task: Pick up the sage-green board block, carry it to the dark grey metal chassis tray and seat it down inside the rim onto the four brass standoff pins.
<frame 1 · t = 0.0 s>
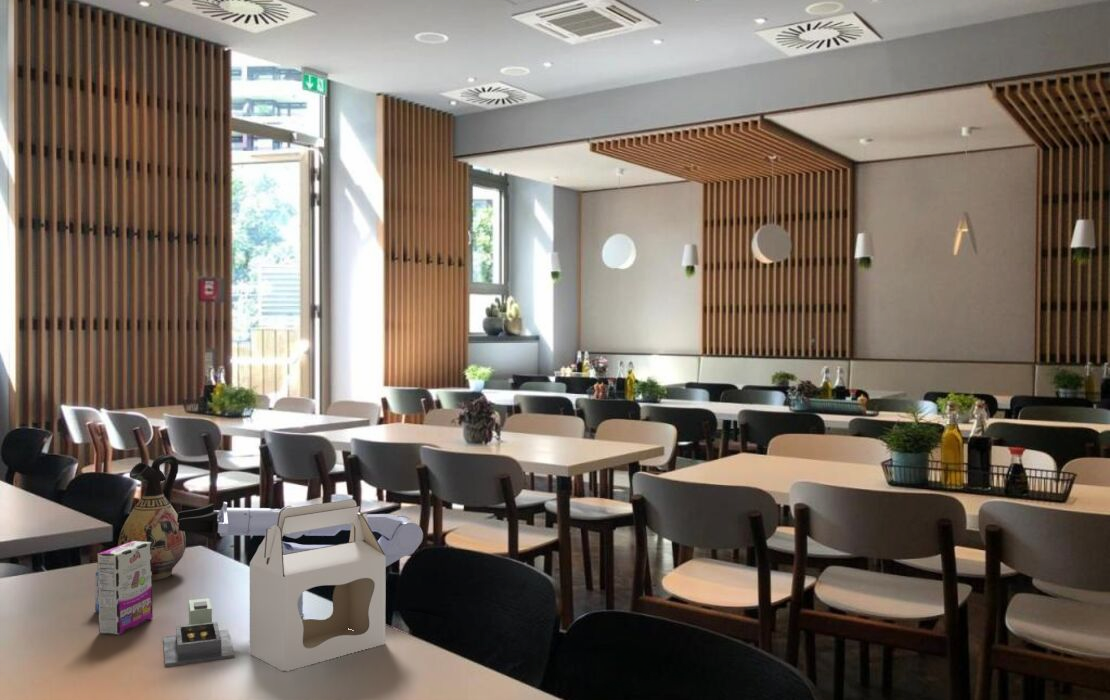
hand: (178, 521, 192), 22 cm above the table, tool horizontal, fingers open, 7 cm apart
candy bar box: (125, 627, 192), on the table
ceramic jug: (155, 576, 232), on the table
gable box: (318, 650, 180), on the table
board: (200, 628, 192), on the table
medicine box: (116, 612, 203), on the table
chassis: (198, 648, 179), on the table
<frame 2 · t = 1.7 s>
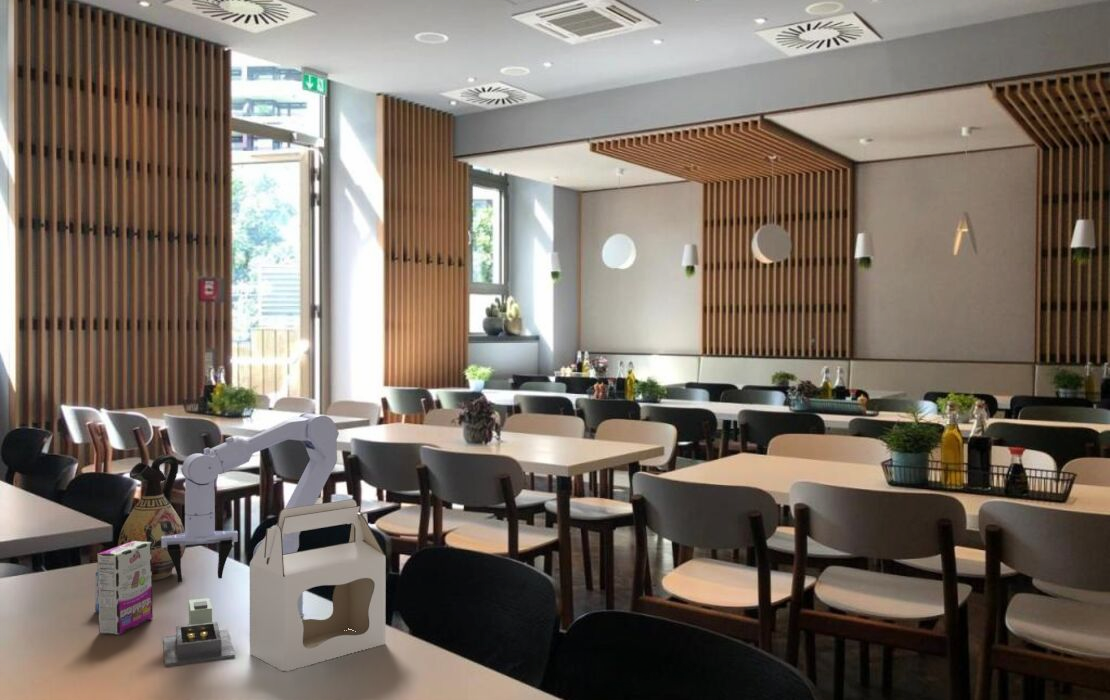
hand: (199, 579, 191), 10 cm above the table, tool pointing down, fingers open, 7 cm apart
nothing on the table moved.
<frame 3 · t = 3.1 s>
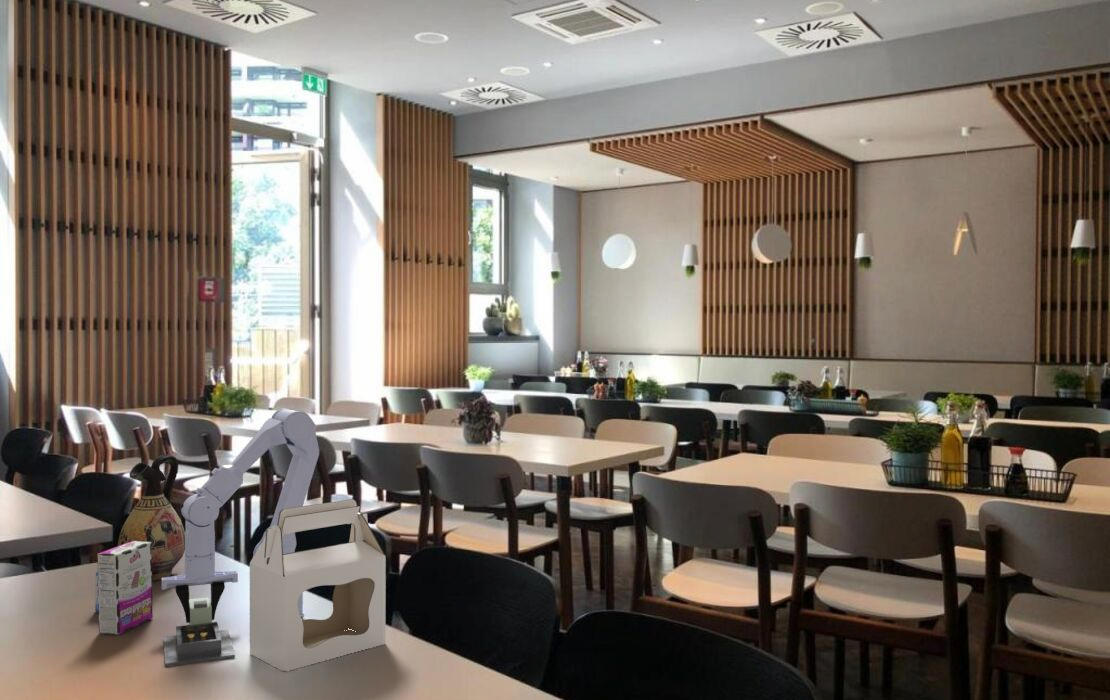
hand: (200, 620, 192), 2 cm above the table, tool pointing down, fingers closed on board, 4 cm apart
board: (200, 627, 192), on the table, touching gripper
everything else where it was.
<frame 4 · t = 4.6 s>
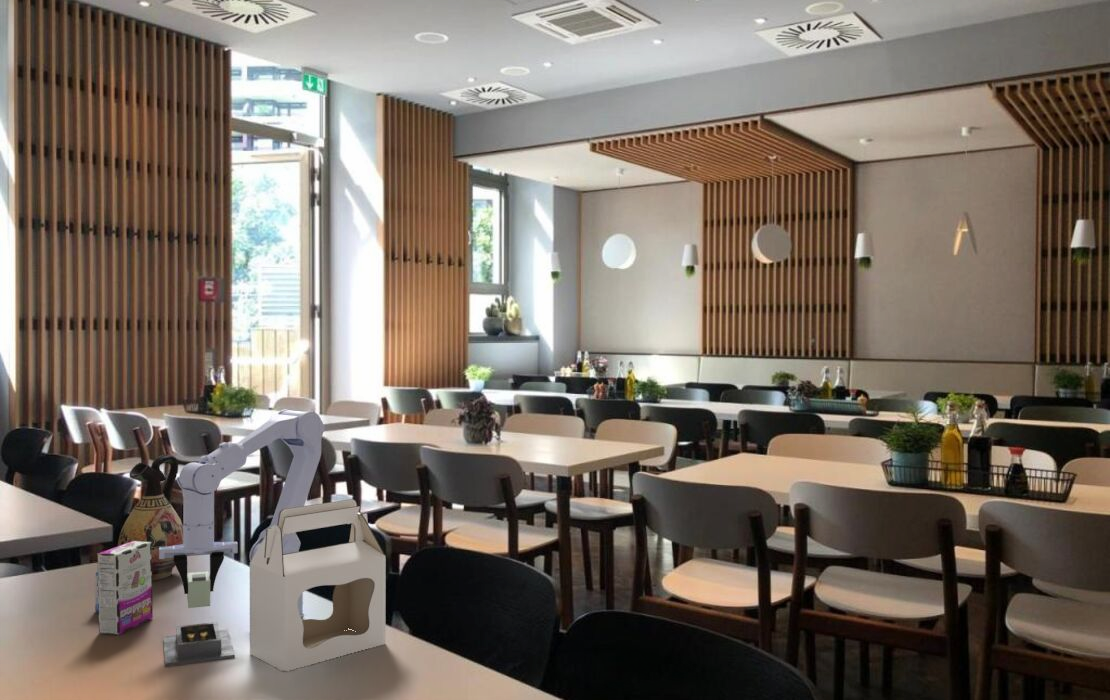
hand: (198, 591, 186), 9 cm above the table, tool pointing down, fingers closed on board, 4 cm apart
board: (198, 601, 187), point 7 cm above the table, touching gripper
everything else where it was.
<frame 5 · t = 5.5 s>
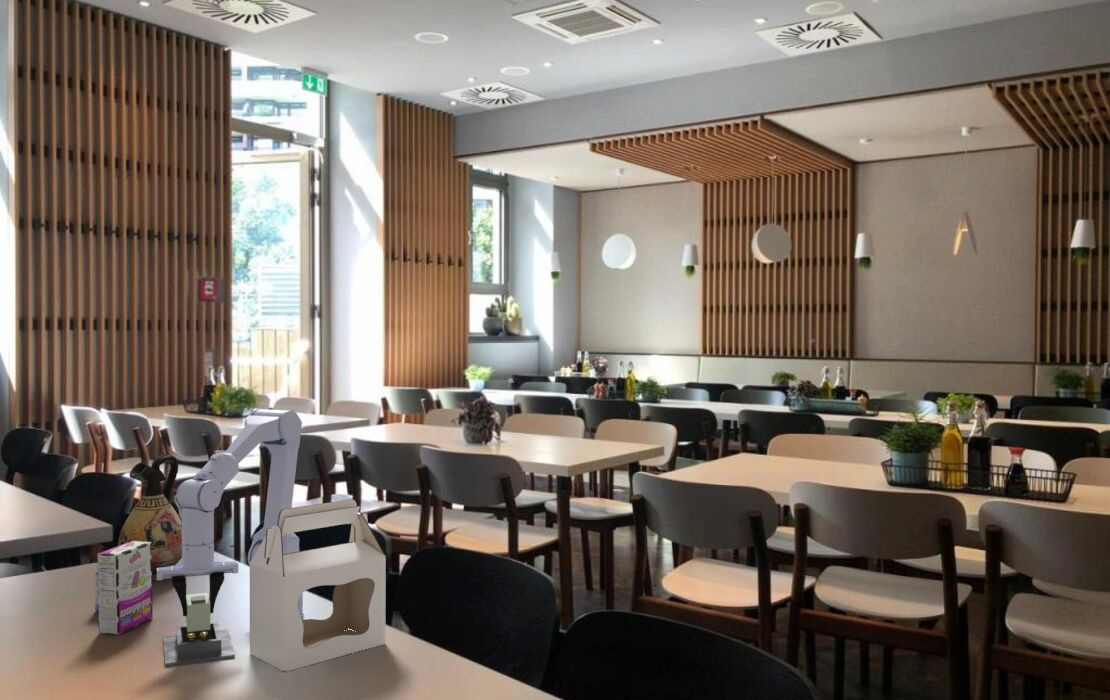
hand: (198, 613, 179), 7 cm above the table, tool pointing down, fingers closed on board, 4 cm apart
board: (197, 624, 180), point 4 cm above the table, touching gripper
everything else where it was.
when the fingers open (5 cm above the table, at t = 6.3 s): board stays where it is, resting on chassis.
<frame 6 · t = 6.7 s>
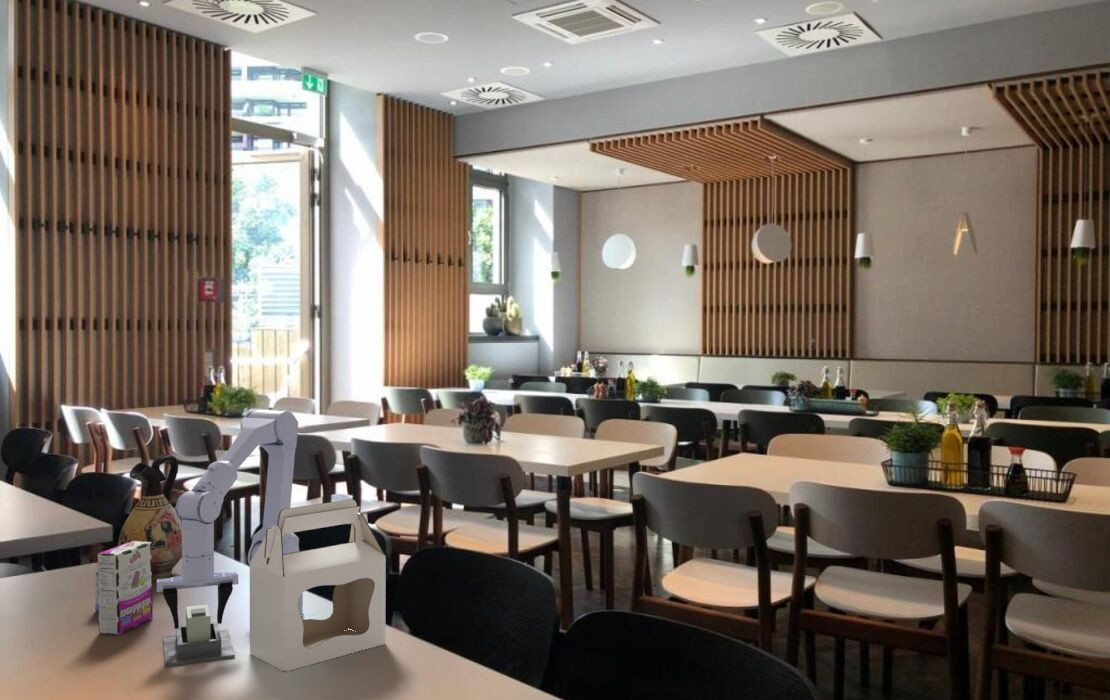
hand: (198, 624, 179), 5 cm above the table, tool pointing down, fingers open, 7 cm apart
board: (198, 637, 180), point 2 cm above the table, touching chassis
everything else where it was.
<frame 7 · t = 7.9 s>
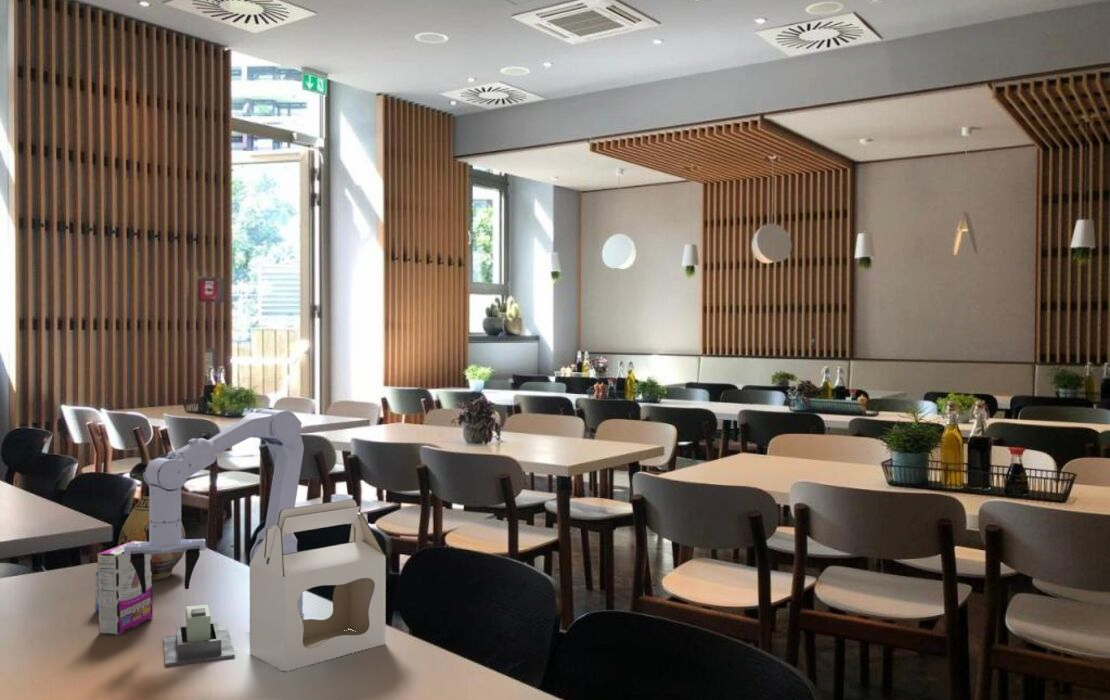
hand: (165, 589, 182), 10 cm above the table, tool pointing down, fingers open, 7 cm apart
nothing on the table moved.
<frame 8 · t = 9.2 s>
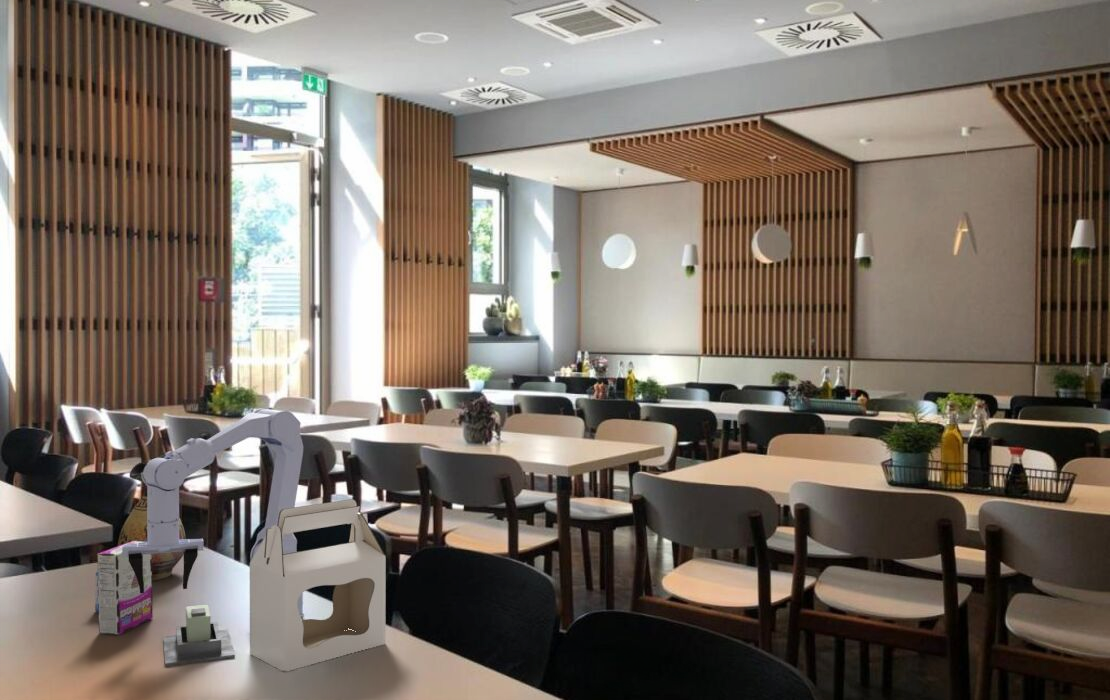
hand: (163, 589, 182), 10 cm above the table, tool pointing down, fingers open, 7 cm apart
nothing on the table moved.
at the end: board 0.7 cm off-centre on the chassis, point 2.0 cm above the chassis's base; board tilted 0°; the gripper is holding nothing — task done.
